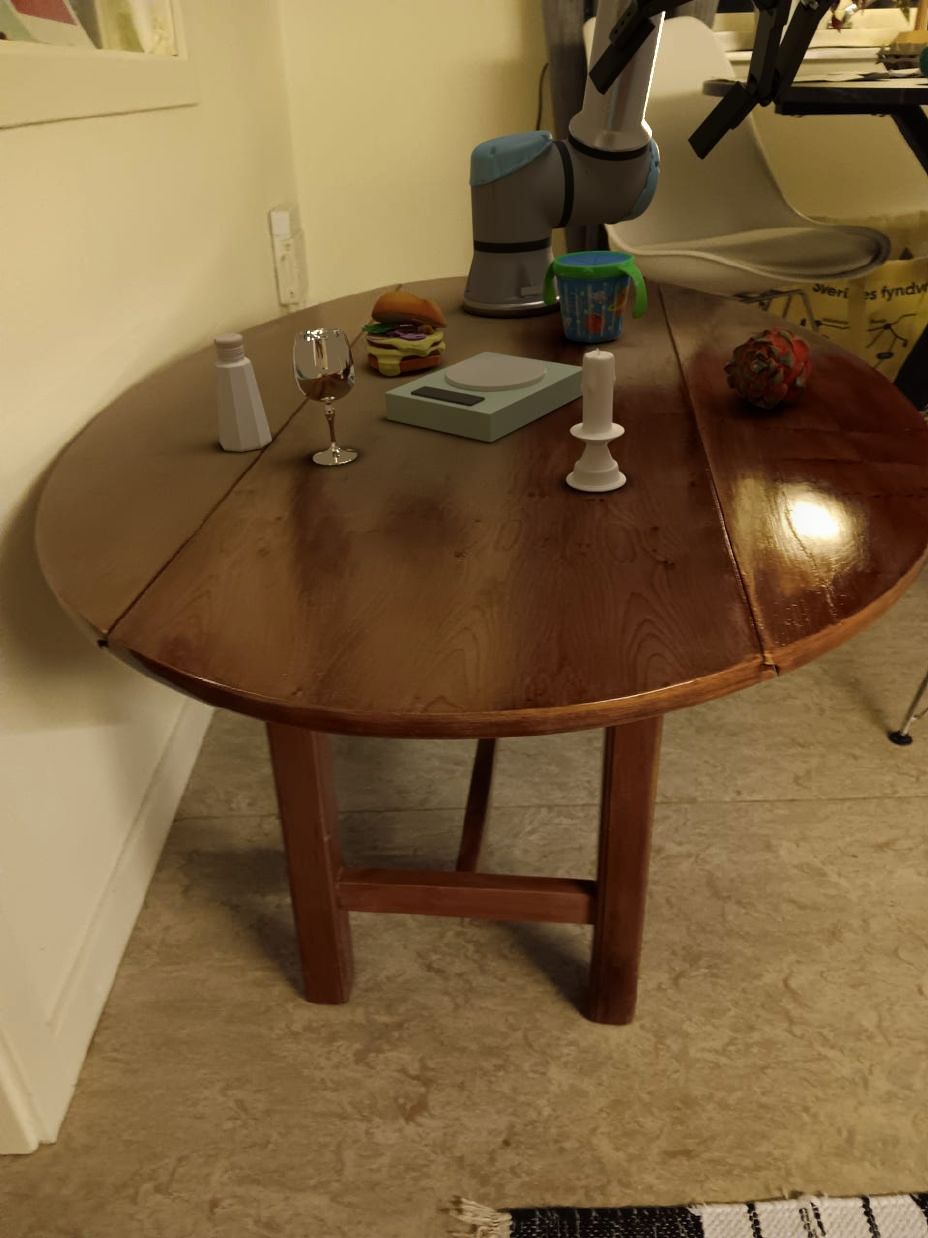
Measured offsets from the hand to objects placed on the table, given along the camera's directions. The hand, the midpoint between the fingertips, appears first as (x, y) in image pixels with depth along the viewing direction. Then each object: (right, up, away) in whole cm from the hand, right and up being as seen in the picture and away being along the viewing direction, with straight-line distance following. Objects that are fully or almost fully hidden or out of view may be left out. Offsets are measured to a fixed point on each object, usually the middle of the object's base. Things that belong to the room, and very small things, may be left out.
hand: (647, 119), depth 88 cm
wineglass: (-30, -30, +7) cm, 43 cm away
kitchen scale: (-14, -22, +18) cm, 32 cm away
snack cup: (0, -8, +40) cm, 41 cm away
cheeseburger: (-24, -14, +34) cm, 44 cm away
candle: (-5, -34, -2) cm, 34 cm away
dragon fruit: (+15, -23, +15) cm, 31 cm away
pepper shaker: (-39, -28, +12) cm, 50 cm away
